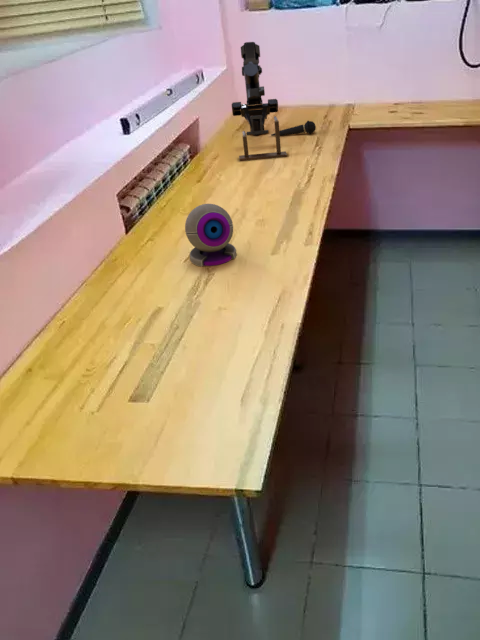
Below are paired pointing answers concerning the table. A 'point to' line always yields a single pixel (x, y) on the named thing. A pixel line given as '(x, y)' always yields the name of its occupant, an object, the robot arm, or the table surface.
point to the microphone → (299, 129)
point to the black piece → (253, 128)
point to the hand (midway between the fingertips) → (257, 126)
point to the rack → (264, 155)
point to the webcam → (210, 235)
